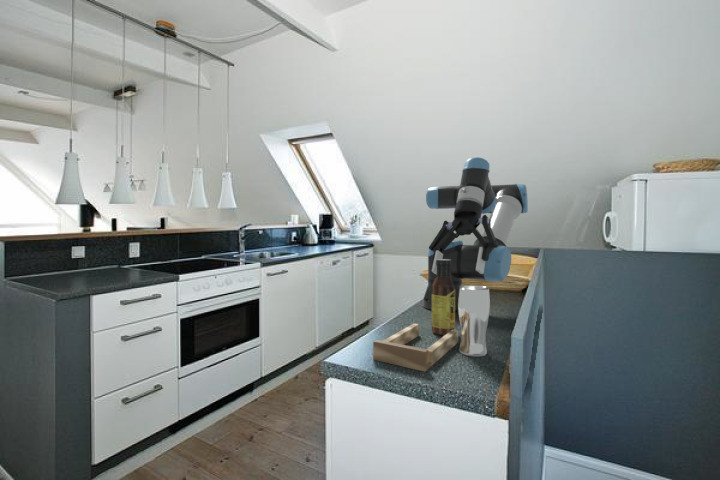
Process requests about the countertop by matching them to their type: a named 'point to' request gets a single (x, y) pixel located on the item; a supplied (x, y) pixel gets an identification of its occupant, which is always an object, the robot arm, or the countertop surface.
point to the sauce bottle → (443, 299)
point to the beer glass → (473, 319)
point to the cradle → (412, 349)
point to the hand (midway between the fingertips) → (456, 272)
